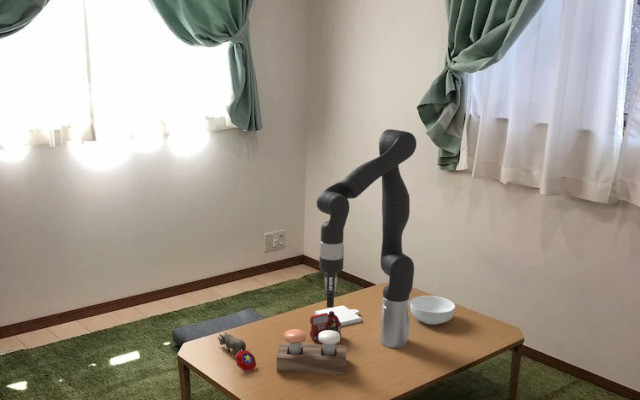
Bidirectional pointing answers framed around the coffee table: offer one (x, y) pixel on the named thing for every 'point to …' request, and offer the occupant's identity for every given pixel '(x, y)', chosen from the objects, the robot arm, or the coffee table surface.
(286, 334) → the peach dome
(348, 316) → the mounting plate
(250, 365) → the button
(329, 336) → the white mushroom knob
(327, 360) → the plunger block
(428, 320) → the cereal bowl
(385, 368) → the coffee table surface
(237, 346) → the rhino figurine
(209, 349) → the coffee table surface
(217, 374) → the coffee table surface
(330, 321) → the toy fire truck
